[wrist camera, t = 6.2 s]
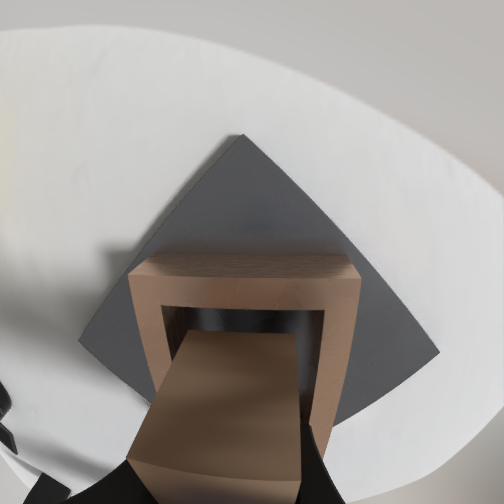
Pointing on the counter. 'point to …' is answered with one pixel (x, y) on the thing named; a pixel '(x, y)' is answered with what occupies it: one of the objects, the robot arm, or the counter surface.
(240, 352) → the block
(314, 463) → the robot arm
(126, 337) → the duct collar
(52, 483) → the battery charger
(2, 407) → the supplement bottle
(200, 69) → the counter surface
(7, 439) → the cell phone
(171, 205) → the counter surface
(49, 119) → the counter surface
